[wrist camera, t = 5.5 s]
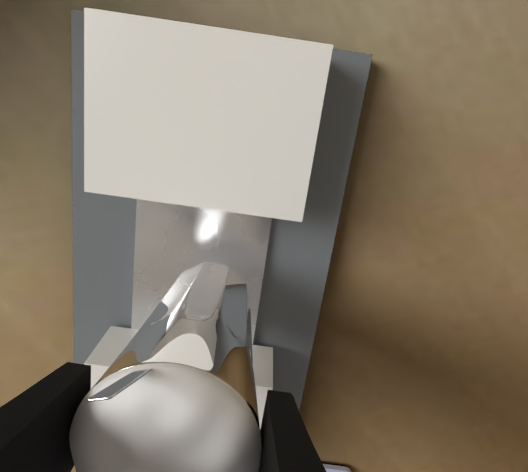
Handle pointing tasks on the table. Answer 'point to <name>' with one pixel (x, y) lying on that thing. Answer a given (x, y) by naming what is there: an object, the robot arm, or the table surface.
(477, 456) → the table surface
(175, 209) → the rail
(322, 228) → the rail board
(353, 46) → the table surface
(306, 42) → the block
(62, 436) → the robot arm
